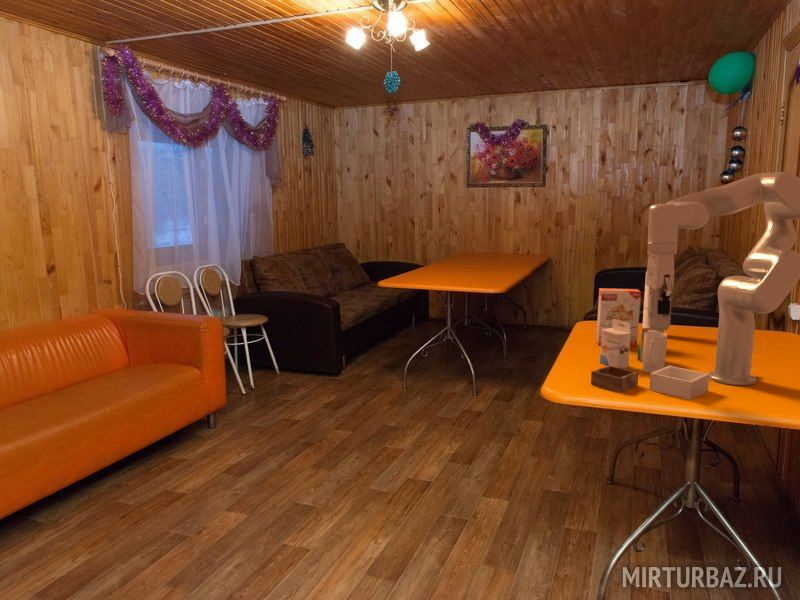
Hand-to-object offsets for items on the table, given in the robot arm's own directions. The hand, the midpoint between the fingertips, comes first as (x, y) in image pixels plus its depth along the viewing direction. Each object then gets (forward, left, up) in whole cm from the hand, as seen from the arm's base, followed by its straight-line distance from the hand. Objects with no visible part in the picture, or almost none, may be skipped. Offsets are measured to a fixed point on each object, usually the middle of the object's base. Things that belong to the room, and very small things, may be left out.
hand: (659, 311), depth 174 cm
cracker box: (-39, -34, -23) cm, 57 cm away
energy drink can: (0, 0, -5) cm, 5 cm away
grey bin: (-3, +6, -23) cm, 24 cm away
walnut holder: (+6, -9, -23) cm, 25 cm away
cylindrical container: (-64, -33, -23) cm, 76 cm away
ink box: (-13, -20, -23) cm, 33 cm away
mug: (-15, -8, -23) cm, 29 cm away
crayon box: (-27, -15, -23) cm, 39 cm away
